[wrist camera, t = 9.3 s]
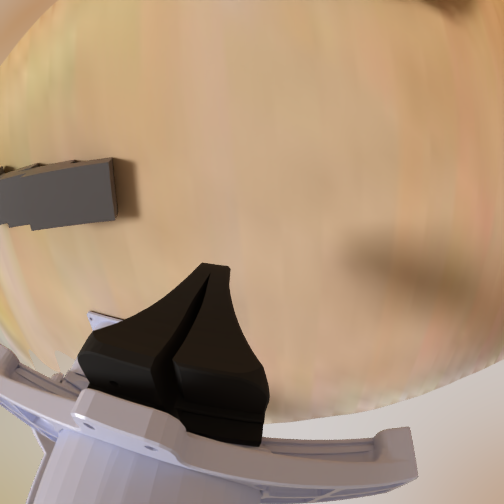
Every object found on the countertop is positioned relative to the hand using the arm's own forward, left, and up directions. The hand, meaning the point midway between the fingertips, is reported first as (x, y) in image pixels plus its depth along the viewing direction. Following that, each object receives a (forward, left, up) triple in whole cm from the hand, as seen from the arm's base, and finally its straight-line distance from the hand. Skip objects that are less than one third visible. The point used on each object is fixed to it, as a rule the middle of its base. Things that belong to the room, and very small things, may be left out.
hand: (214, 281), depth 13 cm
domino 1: (+1, +11, -9) cm, 14 cm away
